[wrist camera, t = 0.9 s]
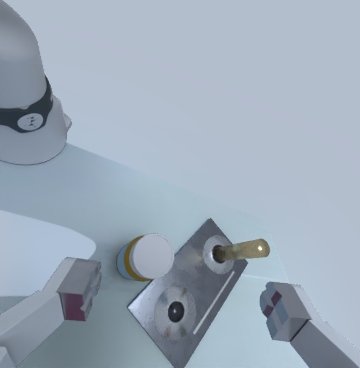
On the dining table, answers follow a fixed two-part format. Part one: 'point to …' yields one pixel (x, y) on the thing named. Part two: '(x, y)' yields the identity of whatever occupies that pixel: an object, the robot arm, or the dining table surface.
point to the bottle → (146, 258)
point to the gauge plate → (193, 291)
